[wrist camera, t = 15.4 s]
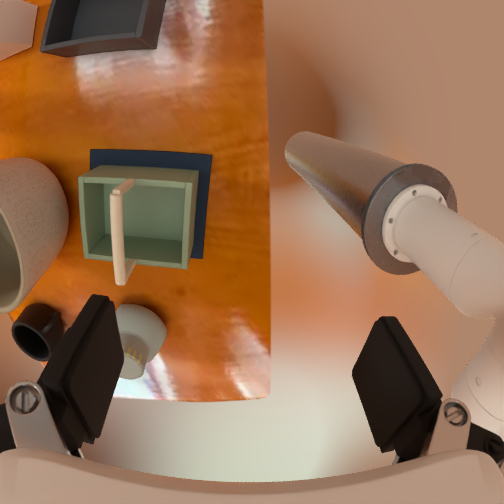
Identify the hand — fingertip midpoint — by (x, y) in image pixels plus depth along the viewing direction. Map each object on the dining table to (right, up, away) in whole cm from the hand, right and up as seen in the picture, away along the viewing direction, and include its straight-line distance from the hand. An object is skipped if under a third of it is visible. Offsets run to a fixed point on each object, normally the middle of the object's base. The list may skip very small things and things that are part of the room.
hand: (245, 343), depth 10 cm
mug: (-36, -8, +34) cm, 50 cm away
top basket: (-13, +9, +26) cm, 31 cm away
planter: (-31, +10, +25) cm, 41 cm away
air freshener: (-18, -8, +35) cm, 40 cm away
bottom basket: (-17, +32, +15) cm, 39 cm away
